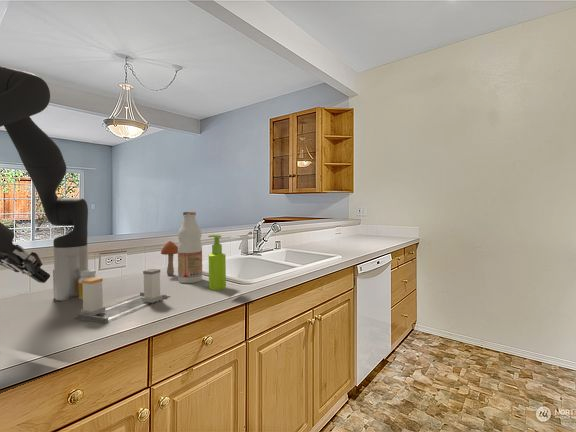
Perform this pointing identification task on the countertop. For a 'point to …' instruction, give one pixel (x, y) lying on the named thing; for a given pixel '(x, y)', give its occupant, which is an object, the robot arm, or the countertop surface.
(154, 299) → the block
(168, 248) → the mushroom
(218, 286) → the soap dispenser
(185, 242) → the fruit juice
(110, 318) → the grey flat plate
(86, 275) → the supplement bottle
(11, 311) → the countertop surface
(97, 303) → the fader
